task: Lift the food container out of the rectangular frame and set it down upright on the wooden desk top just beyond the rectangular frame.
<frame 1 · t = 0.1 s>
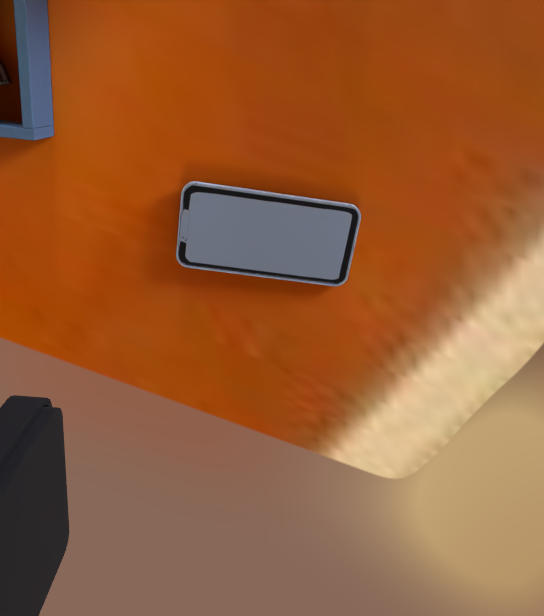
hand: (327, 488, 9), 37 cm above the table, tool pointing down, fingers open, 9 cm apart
smartphone: (267, 233, 45), on the table
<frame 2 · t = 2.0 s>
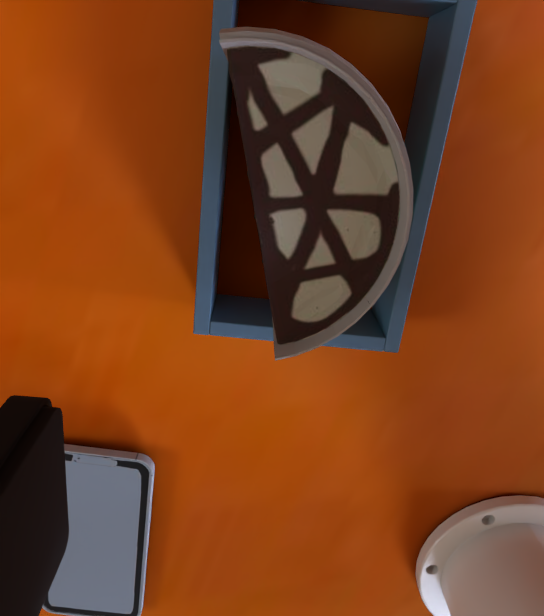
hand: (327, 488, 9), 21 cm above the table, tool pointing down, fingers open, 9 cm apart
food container: (312, 168, 27), resting in rectangular frame
rectangular frame: (312, 168, 27), on the table
smartphone: (97, 530, 36), on the table
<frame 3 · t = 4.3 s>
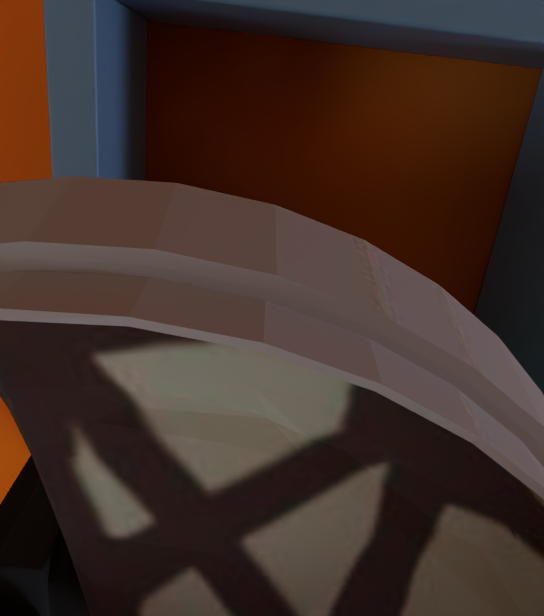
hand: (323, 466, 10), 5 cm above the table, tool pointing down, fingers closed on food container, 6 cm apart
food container: (304, 340, 15), resting in rectangular frame, touching gripper
rectangular frame: (305, 342, 15), on the table
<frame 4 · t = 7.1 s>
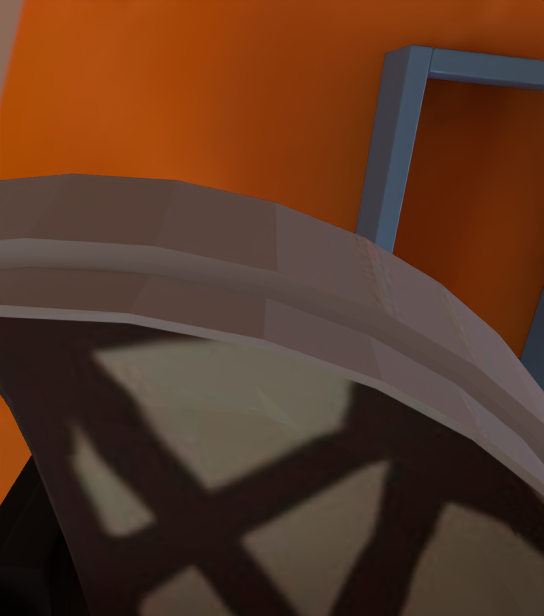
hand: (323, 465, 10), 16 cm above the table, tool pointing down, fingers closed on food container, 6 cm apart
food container: (304, 339, 15), point 11 cm above the table, touching gripper
rectangular frame: (461, 254, 25), on the table
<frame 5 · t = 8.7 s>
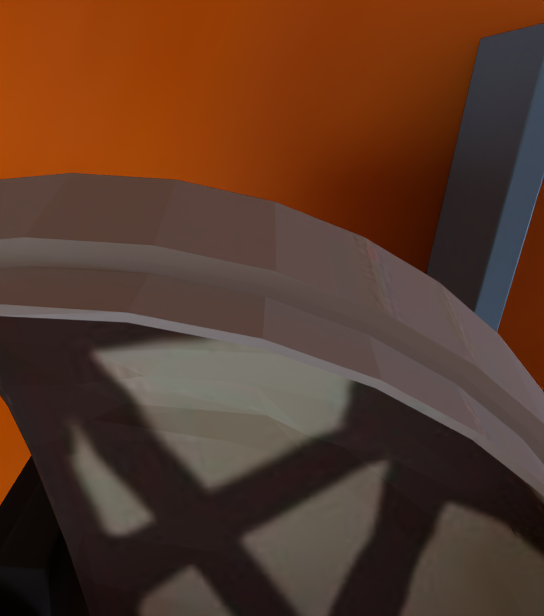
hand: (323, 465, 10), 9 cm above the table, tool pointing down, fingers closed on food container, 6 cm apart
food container: (304, 339, 15), point 3 cm above the table, touching gripper
when the fingers open (5 cm above the table, at t = 10.0 s): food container stays where it is, on the table.
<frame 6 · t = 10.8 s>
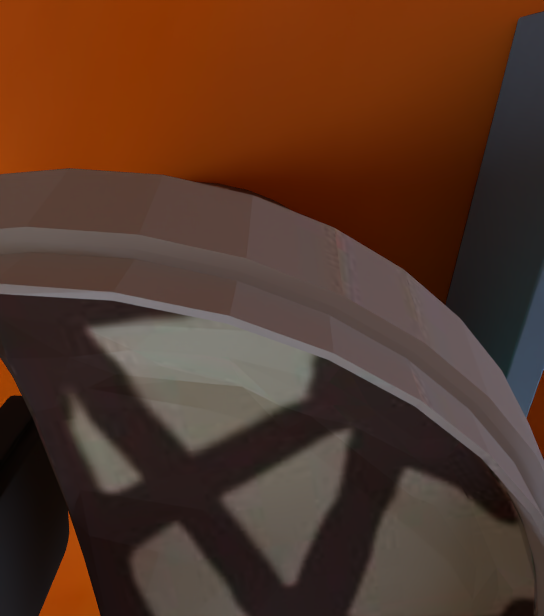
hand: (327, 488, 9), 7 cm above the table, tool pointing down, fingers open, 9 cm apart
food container: (298, 325, 15), on the table
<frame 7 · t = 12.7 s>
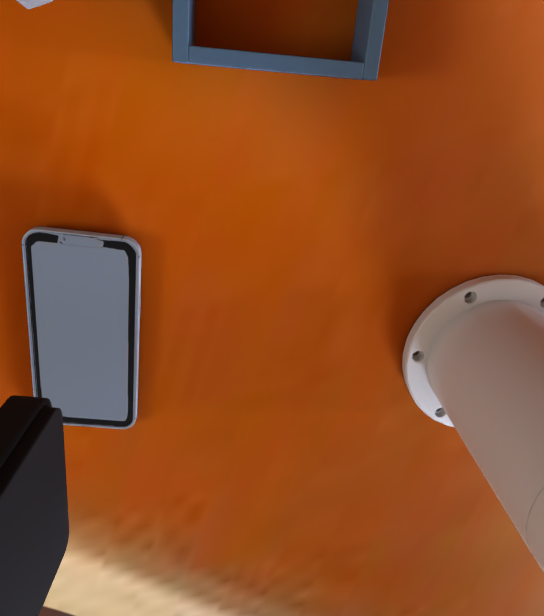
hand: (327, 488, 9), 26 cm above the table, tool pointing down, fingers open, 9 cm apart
smartphone: (87, 331, 37), on the table
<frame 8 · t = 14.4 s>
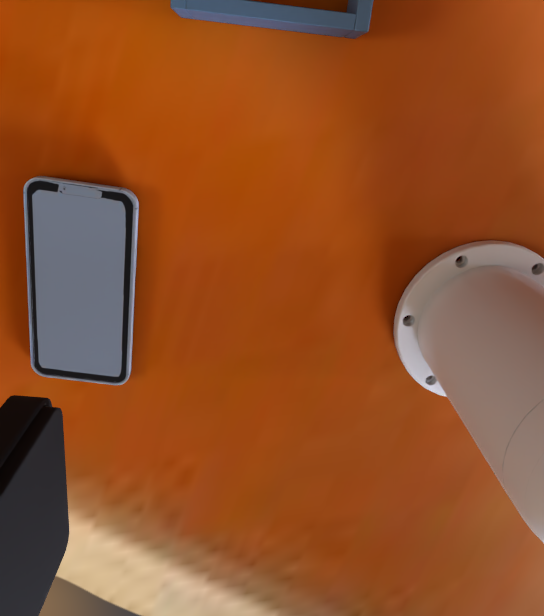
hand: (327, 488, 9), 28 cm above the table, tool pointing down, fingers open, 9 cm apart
smartphone: (84, 285, 37), on the table
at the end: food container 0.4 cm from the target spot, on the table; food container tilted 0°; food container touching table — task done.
